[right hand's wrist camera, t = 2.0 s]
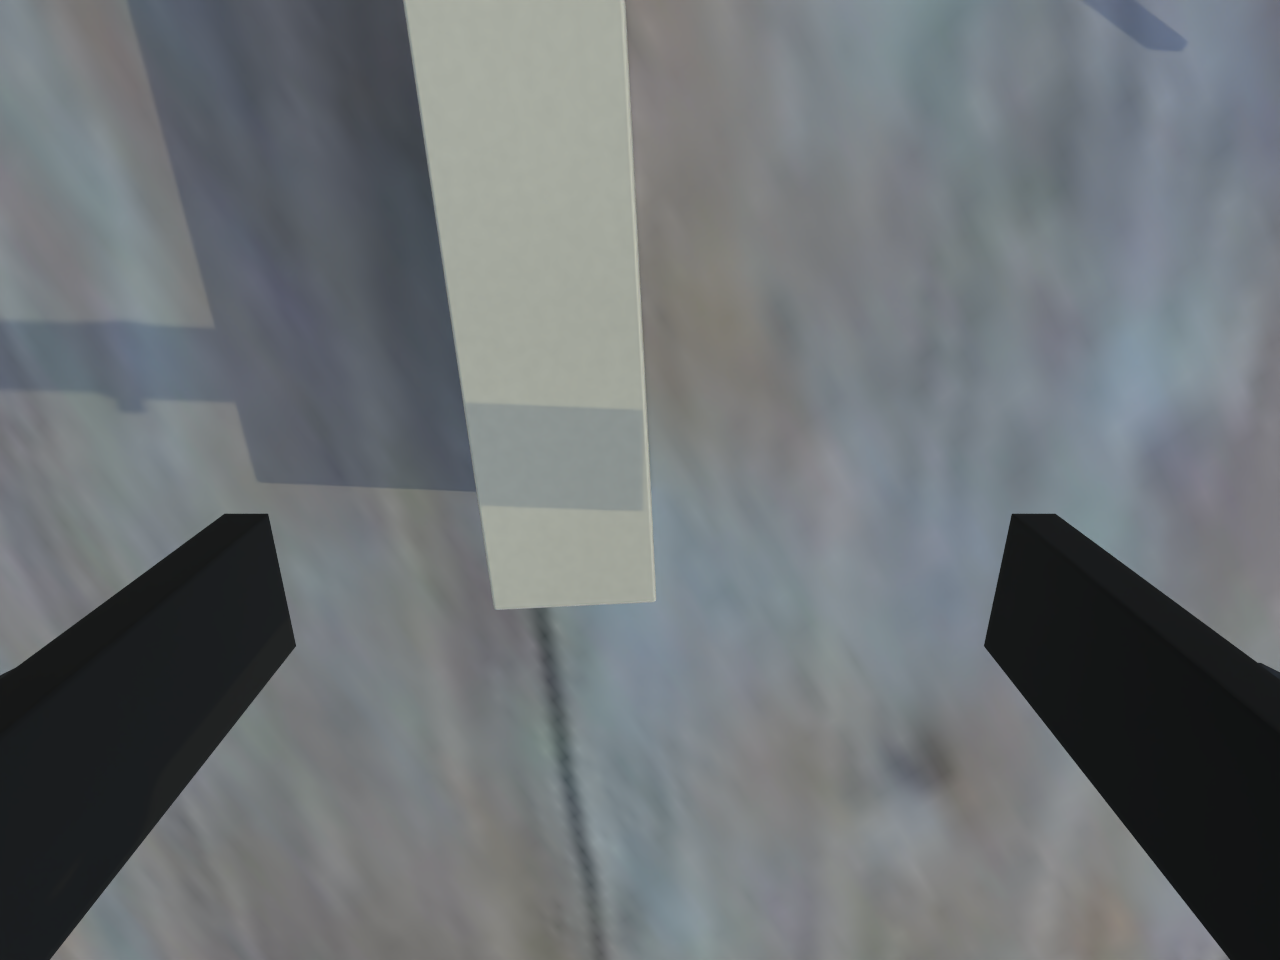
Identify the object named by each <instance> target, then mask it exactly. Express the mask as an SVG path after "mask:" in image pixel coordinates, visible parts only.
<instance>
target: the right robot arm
mask: <svg viewBox="0 0 1280 960" xmlns="http://www.w3.org/2000/svg"><path fill="white" fill-rule="evenodd" d="M295 647H296V644H295V639H294V634H293V630H292V625H291V620H290V615H289V611H288V606H287V601H286V596H285V592H284V587H283V582H282V578H281V573H280V568H279V563H278V559H277V554H276V549H275V544H274V540H273V535H272V530H271V526H270V521H269V516H268V514H224V515H222V516H221V517H220V518H218V519H217V520H216V521H214V522H213V523H212V524H210V525H209V526H207V527H206V528H205V529H203V530H202V531H201V532H199V533H198V534H197V535H195V536H194V537H193V538H191V539H190V540H188V541H187V542H186V543H184V544H183V545H182V546H180V547H179V548H178V549H176V550H175V551H174V552H172V553H171V554H169V555H168V556H167V557H165V558H164V559H163V560H161V561H160V562H159V563H157V564H156V565H155V566H153V567H152V568H151V569H149V570H148V571H146V572H145V573H144V574H142V575H141V576H140V577H138V578H137V579H136V580H134V581H133V582H132V583H130V584H129V585H127V586H126V587H125V588H123V589H122V590H121V591H119V592H118V593H117V594H115V595H114V596H113V597H111V598H110V599H108V600H107V601H106V602H104V603H103V604H102V605H100V606H99V607H98V608H96V609H95V610H94V611H92V612H91V613H89V614H88V615H87V616H85V617H84V618H83V619H81V620H80V621H79V622H77V623H76V624H75V625H73V626H72V627H70V628H69V629H68V630H66V631H65V632H64V633H62V634H61V635H60V636H58V637H57V638H56V639H54V640H53V641H51V642H50V643H49V644H47V645H46V646H45V647H43V648H42V649H41V650H39V651H38V652H37V653H35V654H34V655H33V656H31V657H30V658H28V659H27V660H26V661H24V662H23V663H22V664H20V665H19V666H18V667H16V668H14V669H12V670H10V671H8V672H6V673H4V674H2V675H0V960H50V959H51V958H52V956H53V955H54V954H55V952H56V951H57V950H58V949H59V947H60V946H61V945H62V943H63V942H64V941H65V940H66V938H67V937H68V936H69V935H70V933H71V932H72V931H73V929H74V928H75V927H76V926H77V924H78V923H79V922H80V921H81V919H82V918H83V917H84V915H85V914H86V913H87V912H88V910H89V909H90V908H91V907H92V905H93V904H94V903H95V901H96V900H97V899H98V898H99V896H100V895H101V894H102V893H103V891H104V890H105V889H106V887H107V886H108V885H109V884H110V882H111V881H112V880H113V878H114V877H115V876H116V875H117V873H118V872H119V871H120V870H121V868H122V867H123V866H124V864H125V863H126V862H127V861H128V859H129V858H130V857H131V856H132V854H133V853H134V852H135V850H136V849H137V848H138V847H139V845H140V844H141V843H142V842H143V840H144V839H145V838H146V836H147V835H148V834H149V833H150V831H151V830H152V829H153V828H154V826H155V825H156V824H157V822H158V821H159V820H160V819H161V817H162V816H163V815H164V814H165V812H166V811H167V810H168V808H169V807H170V806H171V805H172V803H173V802H174V801H175V799H176V798H177V797H178V796H179V794H180V793H181V792H182V791H183V789H184V788H185V787H186V785H187V784H188V783H189V782H190V780H191V779H192V778H193V777H194V775H195V774H196V773H197V771H198V770H199V769H200V768H201V766H202V765H203V764H204V763H205V761H206V760H207V759H208V757H209V756H210V755H211V754H212V752H213V751H214V750H215V749H216V747H217V746H218V745H219V743H220V742H221V741H222V740H223V738H224V737H225V736H226V735H227V733H228V732H229V731H230V729H231V728H232V727H233V726H234V724H235V723H236V722H237V720H238V719H239V718H240V717H241V715H242V714H243V713H244V712H245V710H246V709H247V708H248V706H249V705H250V704H251V703H252V701H253V700H254V699H255V698H256V696H257V695H258V694H259V692H260V691H261V690H262V689H263V687H264V686H265V685H266V684H267V682H268V681H269V680H270V678H271V677H272V676H273V675H274V673H275V672H276V671H277V670H278V668H279V667H280V666H281V664H282V663H283V662H284V661H285V659H286V658H287V657H288V655H289V654H290V653H291V652H292V650H293V649H294V648H295ZM984 647H985V648H986V649H987V650H988V652H989V653H990V654H991V656H992V657H993V658H994V659H995V661H996V662H997V663H998V664H999V666H1000V667H1001V668H1002V670H1003V671H1004V672H1005V673H1006V675H1007V676H1008V677H1009V678H1010V680H1011V681H1012V682H1013V684H1014V685H1015V686H1016V687H1017V689H1018V690H1019V691H1020V692H1021V694H1022V695H1023V696H1024V698H1025V699H1026V700H1027V701H1028V703H1029V704H1030V705H1031V706H1032V708H1033V709H1034V710H1035V712H1036V713H1037V714H1038V715H1039V717H1040V718H1041V719H1042V720H1043V722H1044V723H1045V724H1046V726H1047V727H1048V728H1049V729H1050V731H1051V732H1052V733H1053V735H1054V736H1055V737H1056V738H1057V740H1058V741H1059V742H1060V743H1061V745H1062V746H1063V747H1064V749H1065V750H1066V751H1067V752H1068V754H1069V755H1070V756H1071V757H1072V759H1073V760H1074V761H1075V763H1076V764H1077V765H1078V766H1079V768H1080V769H1081V770H1082V771H1083V773H1084V774H1085V775H1086V777H1087V778H1088V779H1089V780H1090V782H1091V783H1092V784H1093V785H1094V787H1095V788H1096V789H1097V791H1098V792H1099V793H1100V794H1101V796H1102V797H1103V798H1104V799H1105V801H1106V802H1107V803H1108V805H1109V806H1110V807H1111V808H1112V810H1113V811H1114V812H1115V814H1116V815H1117V816H1118V817H1119V819H1120V820H1121V821H1122V822H1123V824H1124V825H1125V826H1126V828H1127V829H1128V830H1129V831H1130V833H1131V834H1132V835H1133V836H1134V838H1135V839H1136V840H1137V842H1138V843H1139V844H1140V845H1141V847H1142V848H1143V849H1144V850H1145V852H1146V853H1147V854H1148V856H1149V857H1150V858H1151V859H1152V861H1153V862H1154V863H1155V864H1156V866H1157V867H1158V868H1159V870H1160V871H1161V872H1162V873H1163V875H1164V876H1165V877H1166V878H1167V880H1168V881H1169V882H1170V884H1171V885H1172V886H1173V887H1174V889H1175V890H1176V891H1177V893H1178V894H1179V895H1180V896H1181V898H1182V899H1183V900H1184V901H1185V903H1186V904H1187V905H1188V907H1189V908H1190V909H1191V910H1192V912H1193V913H1194V914H1195V915H1196V917H1197V918H1198V919H1199V921H1200V922H1201V923H1202V924H1203V926H1204V927H1205V928H1206V929H1207V931H1208V932H1209V933H1210V935H1211V936H1212V937H1213V938H1214V940H1215V941H1216V942H1217V943H1218V945H1219V946H1220V947H1221V949H1222V950H1223V951H1224V952H1225V954H1226V955H1227V956H1228V958H1229V959H1230V960H1280V672H1278V671H1276V670H1274V669H1272V668H1270V667H1268V666H1266V665H1264V664H1262V663H1257V662H1256V661H1254V660H1253V659H1252V658H1250V657H1249V656H1247V655H1246V654H1245V653H1243V652H1242V651H1241V650H1239V649H1238V648H1237V647H1235V646H1234V645H1233V644H1231V643H1230V642H1229V641H1227V640H1226V639H1224V638H1223V637H1222V636H1220V635H1219V634H1218V633H1216V632H1215V631H1214V630H1212V629H1211V628H1210V627H1208V626H1207V625H1205V624H1204V623H1203V622H1201V621H1200V620H1199V619H1197V618H1196V617H1195V616H1193V615H1192V614H1191V613H1189V612H1188V611H1186V610H1185V609H1184V608H1182V607H1181V606H1180V605H1178V604H1177V603H1176V602H1174V601H1173V600H1172V599H1170V598H1169V597H1167V596H1166V595H1165V594H1163V593H1162V592H1161V591H1159V590H1158V589H1157V588H1155V587H1154V586H1153V585H1151V584H1150V583H1148V582H1147V581H1146V580H1144V579H1143V578H1142V577H1140V576H1139V575H1138V574H1136V573H1135V572H1134V571H1132V570H1131V569H1129V568H1128V567H1127V566H1125V565H1124V564H1123V563H1121V562H1120V561H1119V560H1117V559H1116V558H1115V557H1113V556H1112V555H1111V554H1109V553H1108V552H1106V551H1105V550H1104V549H1102V548H1101V547H1100V546H1098V545H1097V544H1096V543H1094V542H1093V541H1092V540H1090V539H1089V538H1087V537H1086V536H1085V535H1083V534H1082V533H1081V532H1079V531H1078V530H1077V529H1075V528H1074V527H1073V526H1071V525H1070V524H1068V523H1067V522H1066V521H1064V520H1063V519H1062V518H1060V517H1059V516H1058V515H1056V514H1012V516H1011V521H1010V526H1009V530H1008V535H1007V540H1006V544H1005V549H1004V554H1003V559H1002V563H1001V568H1000V573H999V578H998V582H997V587H996V592H995V596H994V601H993V606H992V611H991V615H990V620H989V625H988V630H987V634H986V639H985V644H984Z"/></svg>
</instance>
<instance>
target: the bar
mask: <svg viewBox="0 0 1280 960" xmlns="http://www.w3.org/2000/svg"><path fill="white" fill-rule="evenodd" d="M403 4H404V10H405V17H406V24H407V31H408V37H409V44H410V51H411V57H412V64H413V71H414V77H415V84H416V91H417V97H418V104H419V111H420V117H421V124H422V131H423V138H424V144H425V151H426V158H427V164H428V171H429V178H430V184H431V191H432V198H433V204H434V211H435V218H436V225H437V231H438V238H439V245H440V251H441V258H442V265H443V271H444V278H445V285H446V291H447V298H448V305H449V312H450V318H451V325H452V332H453V338H454V345H455V352H456V358H457V365H458V372H459V378H460V385H461V392H462V399H463V405H464V412H465V419H466V425H467V432H468V439H469V445H470V452H471V459H472V465H473V472H474V479H475V486H476V492H477V499H478V506H479V512H480V519H481V526H482V532H483V539H484V546H485V552H486V559H487V566H488V573H489V579H490V586H491V593H492V599H493V606H494V609H496V610H503V609H523V608H544V607H564V606H584V605H605V604H625V603H645V602H655V600H656V585H655V564H654V543H653V521H652V500H651V480H650V461H649V442H648V423H647V404H646V385H645V367H644V348H643V329H642V310H641V291H640V272H639V253H638V235H637V216H636V197H635V178H634V159H633V140H632V121H631V102H630V84H629V65H628V46H627V27H626V8H625V0H403Z"/></svg>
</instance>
